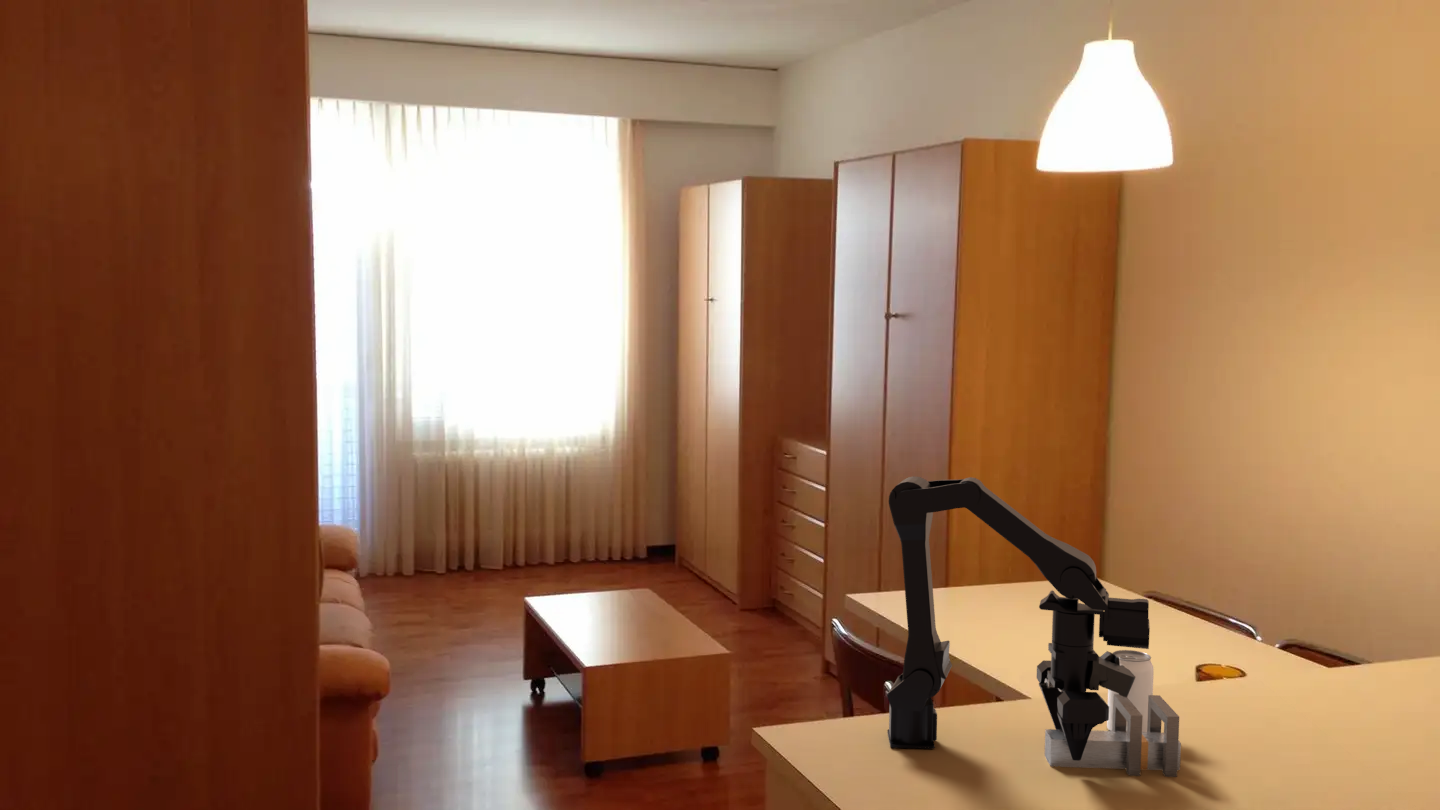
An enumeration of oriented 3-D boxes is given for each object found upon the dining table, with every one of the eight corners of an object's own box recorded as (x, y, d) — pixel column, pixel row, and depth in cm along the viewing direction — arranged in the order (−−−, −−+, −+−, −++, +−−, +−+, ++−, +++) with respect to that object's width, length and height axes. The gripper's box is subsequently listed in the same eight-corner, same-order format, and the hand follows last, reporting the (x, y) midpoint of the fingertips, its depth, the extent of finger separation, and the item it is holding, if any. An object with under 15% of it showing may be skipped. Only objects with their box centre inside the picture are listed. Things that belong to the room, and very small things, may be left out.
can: (1154, 740, 178) (1157, 662, 177) (1109, 737, 180) (1112, 660, 179) (1147, 725, 185) (1150, 650, 184) (1104, 722, 186) (1107, 647, 185)
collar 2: (1165, 776, 165) (1167, 716, 164) (1146, 752, 174) (1148, 695, 173) (1176, 776, 165) (1179, 716, 164) (1157, 752, 174) (1159, 695, 173)
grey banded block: (1050, 766, 168) (1051, 739, 168) (1044, 755, 172) (1045, 728, 172) (1179, 770, 167) (1181, 742, 167) (1170, 759, 171) (1171, 732, 171)
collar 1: (1128, 775, 165) (1130, 715, 164) (1111, 751, 174) (1113, 694, 173) (1140, 775, 165) (1142, 715, 164) (1122, 751, 174) (1124, 694, 173)
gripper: (1149, 662, 159) (1145, 775, 160) (1112, 625, 177) (1109, 726, 179) (1065, 660, 160) (1061, 772, 161) (1037, 623, 178) (1034, 724, 179)
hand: (1068, 747), depth 170 cm, fingers open, 9 cm apart
